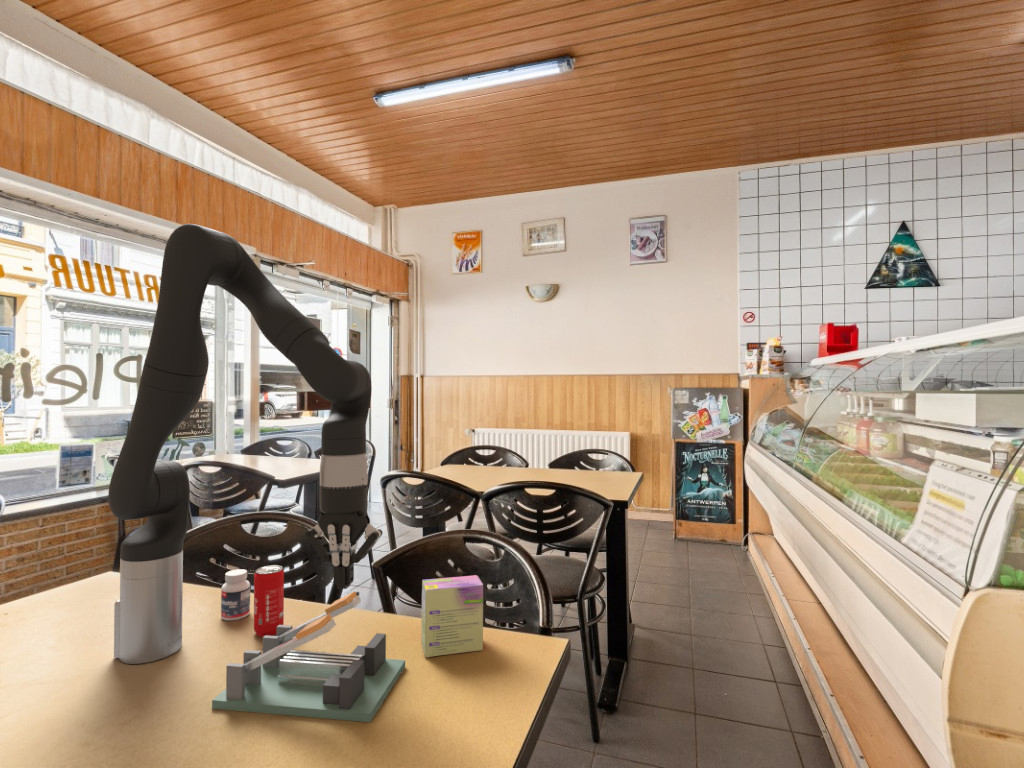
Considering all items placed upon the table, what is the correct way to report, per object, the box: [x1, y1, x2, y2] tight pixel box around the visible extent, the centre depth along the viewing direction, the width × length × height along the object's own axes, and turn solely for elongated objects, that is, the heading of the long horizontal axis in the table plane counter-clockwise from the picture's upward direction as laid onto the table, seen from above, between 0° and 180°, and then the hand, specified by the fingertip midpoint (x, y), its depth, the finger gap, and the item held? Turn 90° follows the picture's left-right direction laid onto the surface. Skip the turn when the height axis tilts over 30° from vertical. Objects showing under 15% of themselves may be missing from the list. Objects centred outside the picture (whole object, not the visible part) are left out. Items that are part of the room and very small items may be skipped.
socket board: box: [211, 624, 406, 723], centre depth 84 cm, size 24×15×6 cm, turn 83°
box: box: [420, 574, 484, 658], centre depth 97 cm, size 10×6×12 cm, turn 106°
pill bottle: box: [220, 568, 251, 622], centre depth 110 cm, size 5×5×9 cm
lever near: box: [244, 614, 337, 673], centre depth 80 cm, size 16×4×2 cm, turn 83°
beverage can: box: [253, 564, 285, 638], centre depth 103 cm, size 5×5×12 cm
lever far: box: [278, 591, 361, 644], centre depth 89 cm, size 16×4×2 cm, turn 83°
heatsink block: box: [278, 649, 363, 687], centre depth 84 cm, size 12×4×3 cm, turn 83°
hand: (343, 587), depth 88 cm, fingers closed
